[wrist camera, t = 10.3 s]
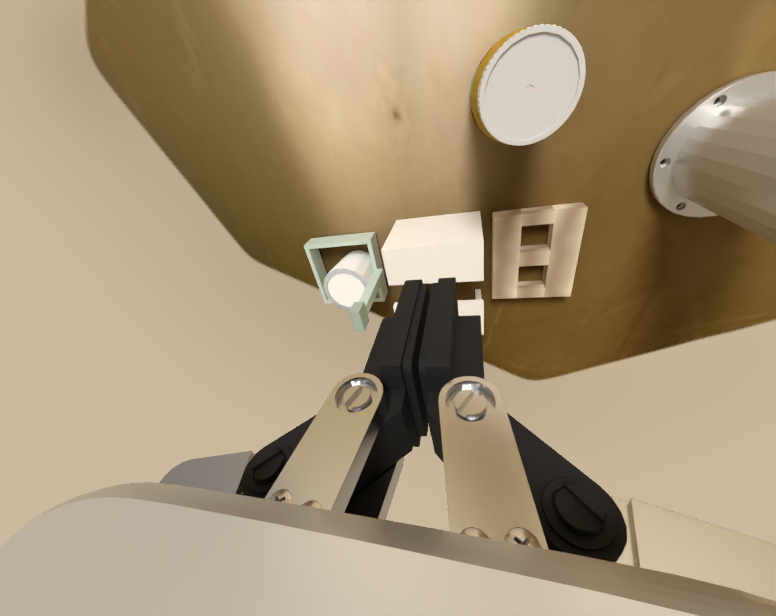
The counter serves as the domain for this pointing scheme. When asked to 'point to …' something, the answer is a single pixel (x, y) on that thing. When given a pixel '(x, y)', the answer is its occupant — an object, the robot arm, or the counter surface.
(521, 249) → the board
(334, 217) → the counter surface
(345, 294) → the white cup
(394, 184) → the counter surface
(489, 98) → the bottle
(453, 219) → the tunnel
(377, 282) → the slider
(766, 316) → the counter surface
